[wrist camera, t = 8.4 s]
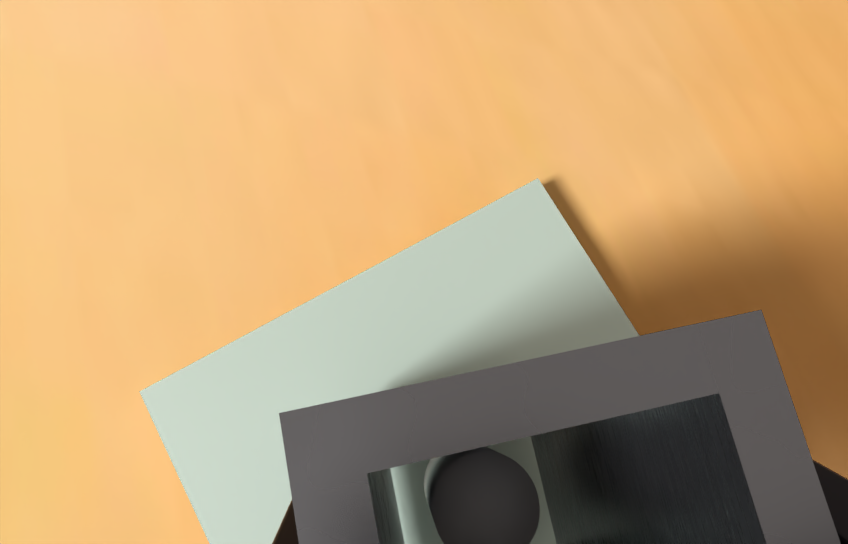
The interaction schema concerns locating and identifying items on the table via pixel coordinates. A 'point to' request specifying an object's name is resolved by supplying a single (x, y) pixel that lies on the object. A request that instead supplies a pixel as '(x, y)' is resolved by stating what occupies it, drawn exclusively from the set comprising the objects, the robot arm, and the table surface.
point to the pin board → (395, 375)
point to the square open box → (586, 443)
